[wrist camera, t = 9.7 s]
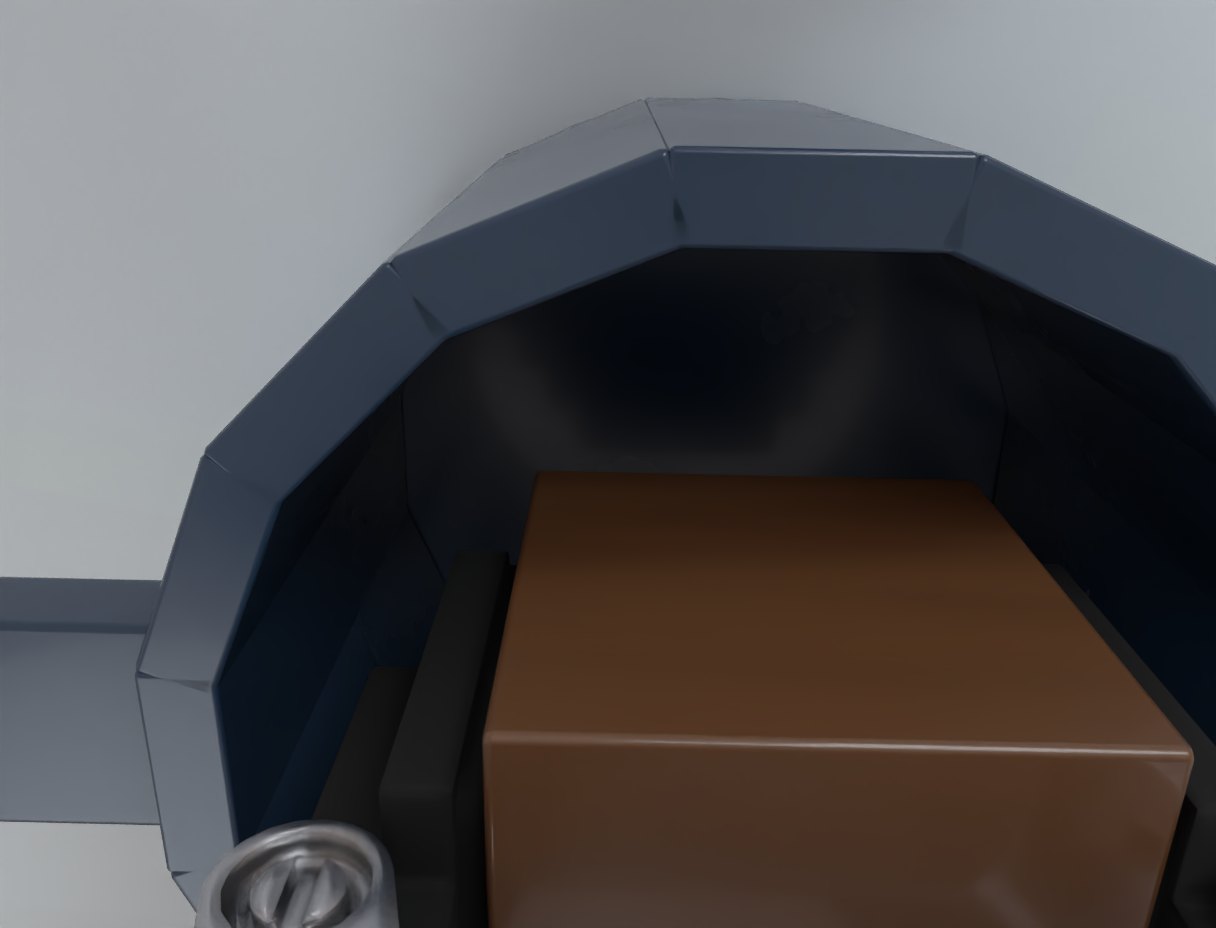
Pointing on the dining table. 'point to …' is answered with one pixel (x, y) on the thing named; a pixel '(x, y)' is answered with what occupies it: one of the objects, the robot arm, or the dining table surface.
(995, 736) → the block
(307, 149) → the dining table surface
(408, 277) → the pot
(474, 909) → the robot arm
